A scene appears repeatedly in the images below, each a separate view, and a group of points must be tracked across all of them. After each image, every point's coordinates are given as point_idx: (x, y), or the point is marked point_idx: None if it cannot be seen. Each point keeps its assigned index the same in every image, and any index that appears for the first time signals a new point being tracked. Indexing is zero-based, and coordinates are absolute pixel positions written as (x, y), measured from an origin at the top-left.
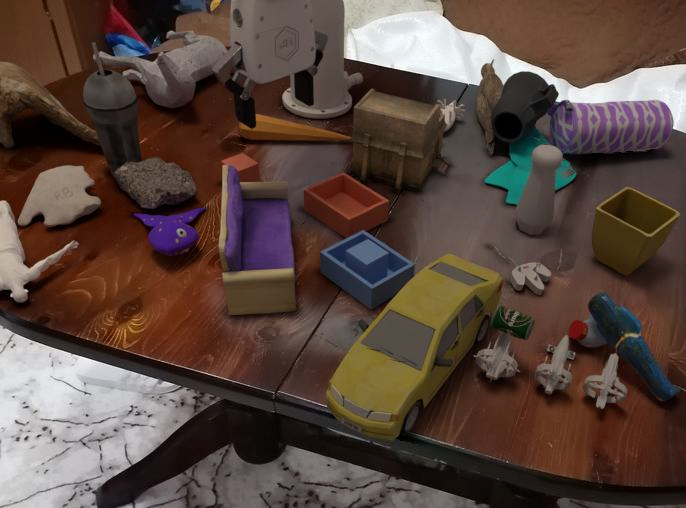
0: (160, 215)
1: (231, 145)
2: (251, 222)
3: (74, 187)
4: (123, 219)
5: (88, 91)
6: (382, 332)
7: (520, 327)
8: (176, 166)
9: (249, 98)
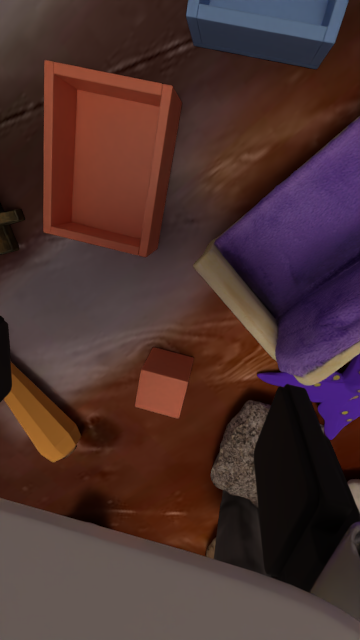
0: (320, 410)
1: (101, 434)
2: (350, 244)
3: None
4: (345, 442)
5: None
6: None
7: None
8: (224, 458)
9: (333, 518)
